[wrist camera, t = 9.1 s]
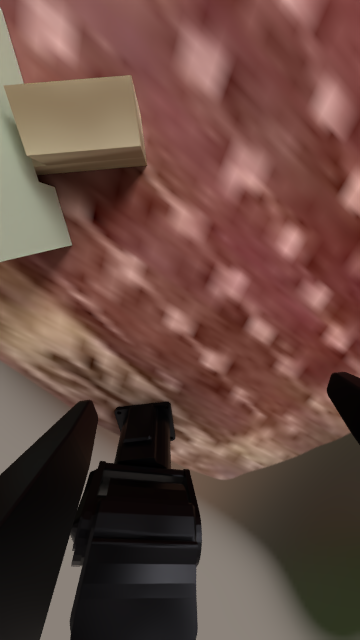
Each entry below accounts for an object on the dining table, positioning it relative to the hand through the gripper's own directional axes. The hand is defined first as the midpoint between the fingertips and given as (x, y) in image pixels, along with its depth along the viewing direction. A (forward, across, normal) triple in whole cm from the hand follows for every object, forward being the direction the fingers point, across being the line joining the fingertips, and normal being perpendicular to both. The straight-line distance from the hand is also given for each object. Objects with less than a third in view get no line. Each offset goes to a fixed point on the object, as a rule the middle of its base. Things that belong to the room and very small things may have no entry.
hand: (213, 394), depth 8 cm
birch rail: (+12, +10, -11) cm, 19 cm away
